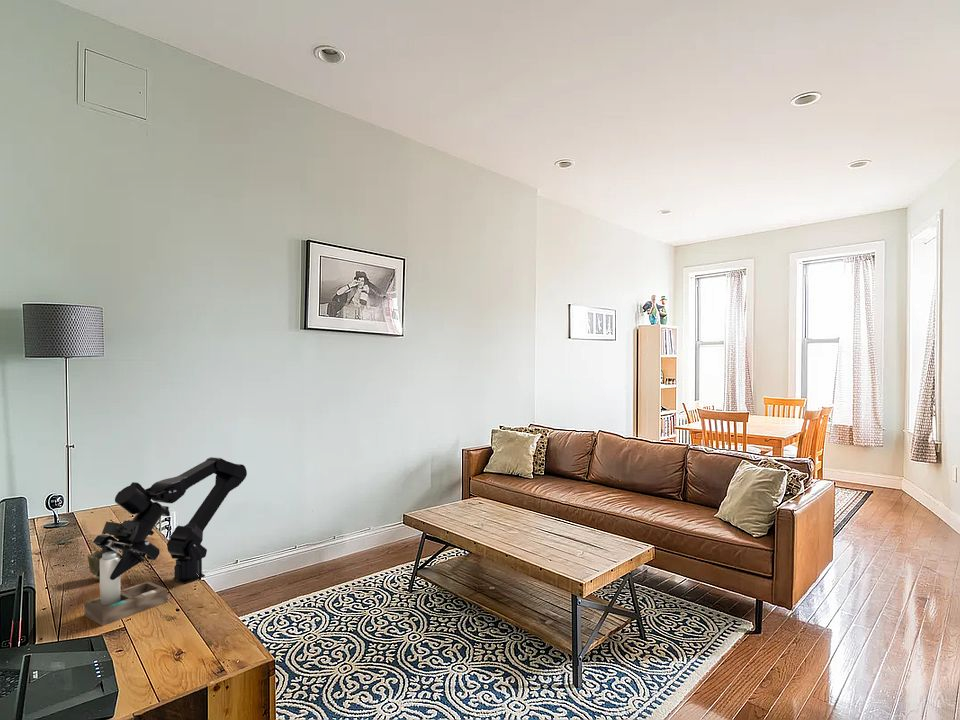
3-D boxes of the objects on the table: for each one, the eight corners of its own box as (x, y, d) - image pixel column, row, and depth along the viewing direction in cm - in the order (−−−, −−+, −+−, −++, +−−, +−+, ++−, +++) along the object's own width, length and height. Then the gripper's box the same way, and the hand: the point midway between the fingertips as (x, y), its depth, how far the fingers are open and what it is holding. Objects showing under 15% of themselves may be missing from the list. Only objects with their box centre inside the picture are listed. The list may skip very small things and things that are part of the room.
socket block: (148, 593, 156) (148, 580, 156) (167, 601, 151) (167, 588, 151) (84, 615, 143) (84, 601, 143) (102, 625, 138) (102, 611, 137)
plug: (108, 597, 147) (108, 550, 146) (124, 597, 146) (123, 550, 146) (96, 604, 142) (95, 556, 142) (112, 605, 142) (111, 556, 142)
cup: (83, 585, 162) (83, 557, 162) (93, 575, 169) (93, 549, 169) (112, 582, 164) (112, 555, 164) (121, 572, 171) (120, 547, 171)
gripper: (99, 504, 151) (56, 559, 141) (148, 511, 144) (107, 568, 134) (127, 525, 158) (88, 578, 148) (175, 531, 152) (138, 588, 142)
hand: (104, 578), depth 143 cm, fingers closed on plug, 4 cm apart
